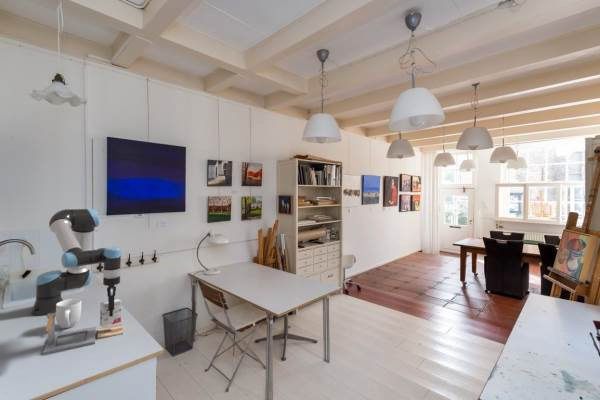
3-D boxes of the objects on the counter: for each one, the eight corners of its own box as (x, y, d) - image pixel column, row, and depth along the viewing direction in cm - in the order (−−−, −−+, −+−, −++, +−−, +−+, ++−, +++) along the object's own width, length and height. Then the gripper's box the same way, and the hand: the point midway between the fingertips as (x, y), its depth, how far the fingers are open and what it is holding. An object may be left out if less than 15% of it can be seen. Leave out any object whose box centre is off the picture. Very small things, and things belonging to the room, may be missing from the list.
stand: (49, 337, 144) (50, 310, 144) (95, 328, 155) (96, 303, 155) (43, 354, 129) (44, 325, 129) (94, 343, 140) (95, 316, 140)
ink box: (118, 319, 157) (118, 298, 156) (121, 322, 153) (121, 300, 153) (99, 324, 150) (100, 302, 150) (102, 327, 147) (103, 304, 147)
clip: (56, 314, 139) (56, 311, 139) (52, 330, 125) (53, 326, 125) (47, 316, 137) (47, 313, 137) (43, 332, 123) (43, 328, 123)
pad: (97, 330, 153) (97, 328, 153) (121, 325, 160) (121, 324, 160) (97, 339, 144) (97, 337, 144) (122, 334, 151) (122, 332, 151)
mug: (79, 330, 152) (80, 306, 152) (52, 335, 146) (53, 310, 146) (81, 319, 164) (82, 297, 164) (57, 323, 158) (57, 300, 158)
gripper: (103, 273, 157) (102, 314, 157) (103, 282, 141) (101, 328, 142) (119, 271, 161) (118, 311, 162) (120, 280, 146) (119, 324, 146)
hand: (110, 319), depth 152 cm, fingers closed on ink box, 6 cm apart
